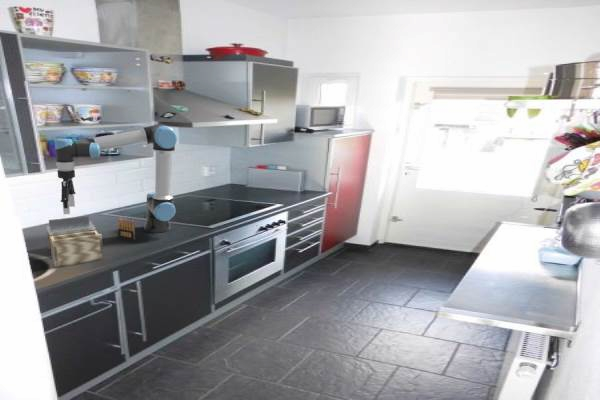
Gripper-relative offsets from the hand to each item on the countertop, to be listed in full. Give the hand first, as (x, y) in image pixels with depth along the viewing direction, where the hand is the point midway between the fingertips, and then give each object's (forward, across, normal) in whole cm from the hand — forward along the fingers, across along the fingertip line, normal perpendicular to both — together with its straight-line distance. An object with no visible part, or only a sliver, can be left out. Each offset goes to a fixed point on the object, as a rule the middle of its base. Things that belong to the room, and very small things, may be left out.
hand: (69, 210), depth 205 cm
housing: (+20, +10, +3) cm, 23 cm away
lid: (+9, +3, +1) cm, 10 cm away
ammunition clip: (+21, -10, +26) cm, 35 cm away
